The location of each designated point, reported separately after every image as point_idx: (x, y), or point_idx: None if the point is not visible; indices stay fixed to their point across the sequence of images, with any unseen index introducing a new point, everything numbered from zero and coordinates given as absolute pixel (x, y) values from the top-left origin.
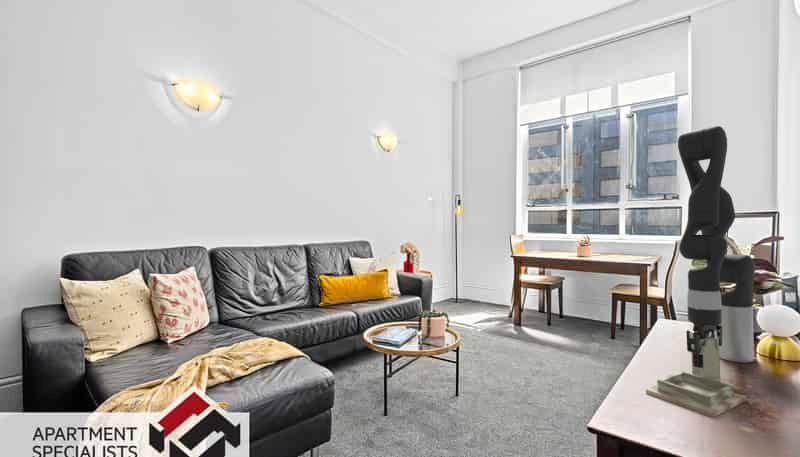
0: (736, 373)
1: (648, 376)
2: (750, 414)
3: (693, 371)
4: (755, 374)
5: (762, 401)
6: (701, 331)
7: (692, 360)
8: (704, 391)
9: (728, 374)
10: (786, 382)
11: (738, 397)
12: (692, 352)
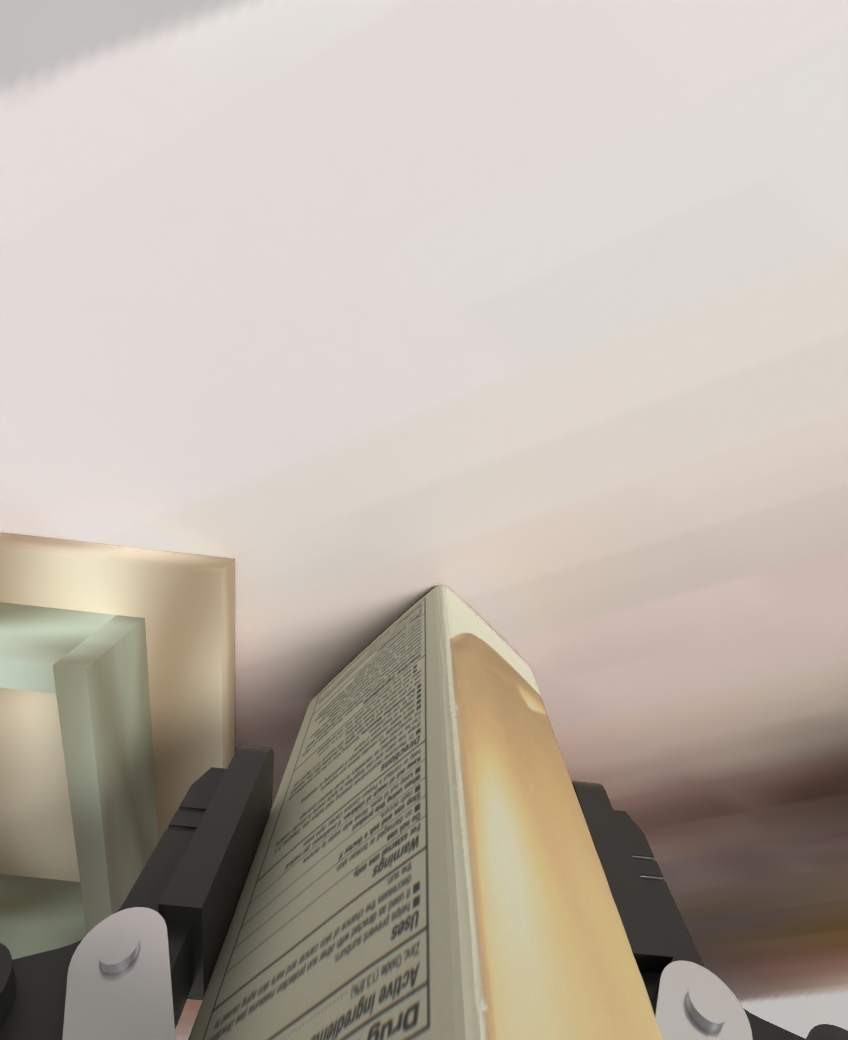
0: (766, 773)
1: (53, 326)
2: None
3: (416, 624)
4: (834, 851)
5: None
6: None
7: (422, 684)
8: (66, 788)
9: (695, 745)
10: (775, 975)
11: None
12: (40, 965)
